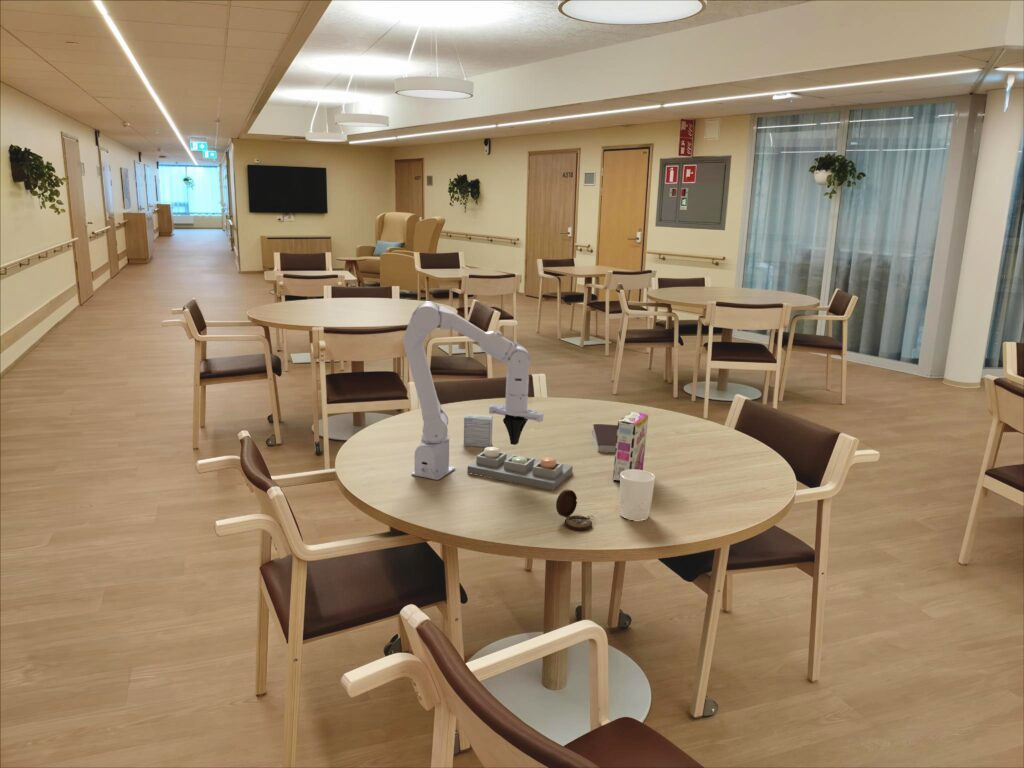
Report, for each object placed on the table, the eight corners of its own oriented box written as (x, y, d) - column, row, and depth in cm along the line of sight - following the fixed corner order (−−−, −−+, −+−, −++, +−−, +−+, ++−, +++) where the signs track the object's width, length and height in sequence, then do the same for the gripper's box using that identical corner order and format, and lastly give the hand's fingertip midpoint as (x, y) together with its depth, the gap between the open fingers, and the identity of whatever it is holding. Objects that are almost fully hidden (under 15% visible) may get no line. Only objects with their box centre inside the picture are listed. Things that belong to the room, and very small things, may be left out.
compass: (579, 534, 163) (581, 503, 161) (553, 522, 169) (555, 491, 167) (603, 524, 168) (605, 494, 167) (577, 513, 174) (579, 483, 172)
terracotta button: (552, 470, 190) (552, 463, 190) (537, 468, 192) (538, 460, 191) (557, 466, 194) (558, 458, 193) (543, 463, 195) (543, 456, 195)
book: (631, 435, 235) (632, 425, 234) (640, 455, 216) (641, 445, 215) (591, 433, 235) (592, 423, 234) (596, 454, 216) (597, 443, 216)
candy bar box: (630, 485, 192) (635, 424, 188) (612, 481, 194) (616, 420, 190) (644, 472, 202) (649, 413, 198) (626, 468, 204) (631, 410, 200)
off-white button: (495, 460, 196) (495, 452, 196) (481, 457, 198) (481, 450, 197) (501, 455, 200) (501, 448, 199) (488, 453, 201) (488, 445, 201)
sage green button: (523, 470, 193) (523, 462, 193) (508, 467, 195) (509, 460, 194) (529, 465, 197) (529, 458, 196) (515, 462, 198) (515, 455, 198)
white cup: (647, 509, 178) (651, 469, 175) (654, 523, 170) (658, 482, 167) (614, 508, 177) (617, 468, 175) (620, 522, 170) (623, 481, 167)
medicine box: (492, 443, 220) (493, 415, 218) (490, 448, 216) (491, 419, 214) (465, 441, 221) (466, 413, 219) (463, 446, 217) (463, 417, 215)
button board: (553, 490, 186) (554, 475, 186) (467, 473, 196) (467, 458, 195) (572, 473, 199) (573, 458, 198) (490, 457, 208) (491, 443, 207)
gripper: (548, 393, 193) (546, 444, 196) (498, 386, 199) (496, 434, 202) (538, 400, 187) (535, 451, 190) (486, 391, 193) (484, 442, 196)
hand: (514, 443), depth 196 cm, fingers closed
